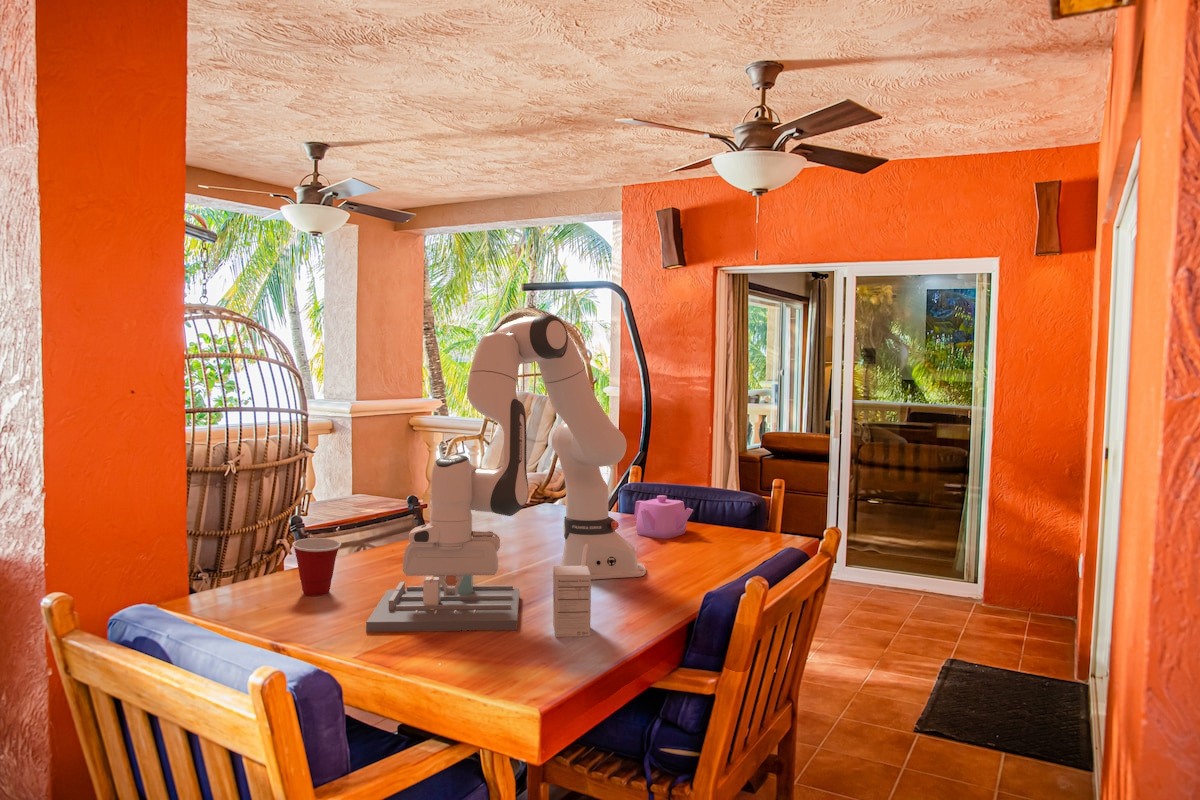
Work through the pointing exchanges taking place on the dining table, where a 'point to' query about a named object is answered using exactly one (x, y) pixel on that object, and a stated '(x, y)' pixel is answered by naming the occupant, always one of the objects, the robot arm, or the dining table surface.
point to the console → (446, 610)
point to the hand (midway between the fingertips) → (450, 595)
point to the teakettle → (661, 517)
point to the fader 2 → (466, 585)
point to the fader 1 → (431, 591)
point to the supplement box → (571, 601)
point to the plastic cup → (316, 564)
